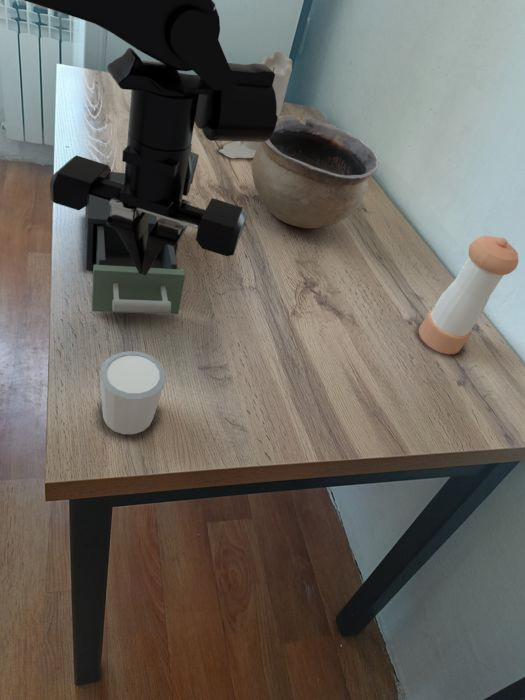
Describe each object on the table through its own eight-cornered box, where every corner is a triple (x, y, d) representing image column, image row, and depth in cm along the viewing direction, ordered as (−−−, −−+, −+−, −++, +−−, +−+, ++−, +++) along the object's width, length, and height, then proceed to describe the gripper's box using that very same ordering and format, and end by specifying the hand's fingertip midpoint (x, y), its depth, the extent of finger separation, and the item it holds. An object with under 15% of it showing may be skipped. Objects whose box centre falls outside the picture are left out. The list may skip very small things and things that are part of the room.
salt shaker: (463, 359, 85) (533, 260, 72) (419, 346, 84) (482, 244, 71) (458, 330, 90) (523, 234, 77) (417, 318, 90) (475, 218, 77)
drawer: (182, 338, 71) (190, 298, 67) (92, 336, 68) (94, 295, 63) (168, 260, 83) (174, 222, 78) (90, 255, 79) (91, 214, 74)
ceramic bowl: (295, 179, 116) (316, 109, 106) (371, 232, 107) (403, 162, 97) (218, 197, 102) (235, 119, 92) (299, 260, 93) (327, 181, 83)
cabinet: (173, 274, 82) (181, 226, 76) (86, 269, 78) (87, 218, 72) (163, 224, 91) (170, 178, 85) (85, 218, 87) (86, 168, 81)
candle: (212, 147, 117) (230, 48, 104) (254, 138, 126) (276, 46, 113) (235, 162, 114) (257, 63, 101) (276, 152, 124) (301, 60, 110)
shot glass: (165, 433, 61) (173, 393, 56) (103, 443, 58) (106, 402, 53) (151, 388, 65) (157, 347, 60) (92, 395, 62) (94, 353, 57)
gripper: (270, 136, 56) (238, 259, 66) (95, 80, 55) (91, 213, 65) (251, 181, 47) (218, 313, 58) (45, 116, 47) (49, 262, 57)
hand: (143, 272), depth 60 cm, fingers closed
